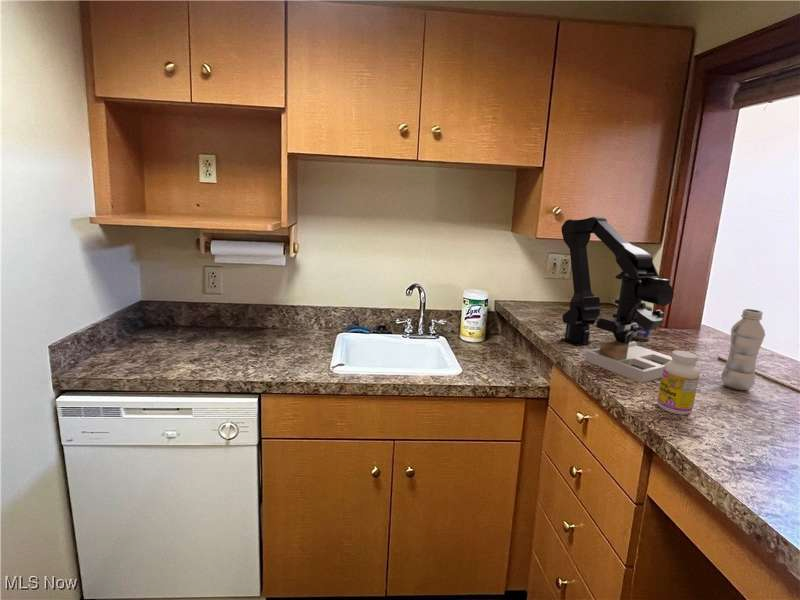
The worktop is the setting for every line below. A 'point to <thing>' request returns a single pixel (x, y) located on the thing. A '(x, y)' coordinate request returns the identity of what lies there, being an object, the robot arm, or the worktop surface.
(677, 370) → the supplement bottle
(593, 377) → the worktop surface
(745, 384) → the plastic bottle
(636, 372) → the trap box
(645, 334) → the pill bottle
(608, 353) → the walnut block
